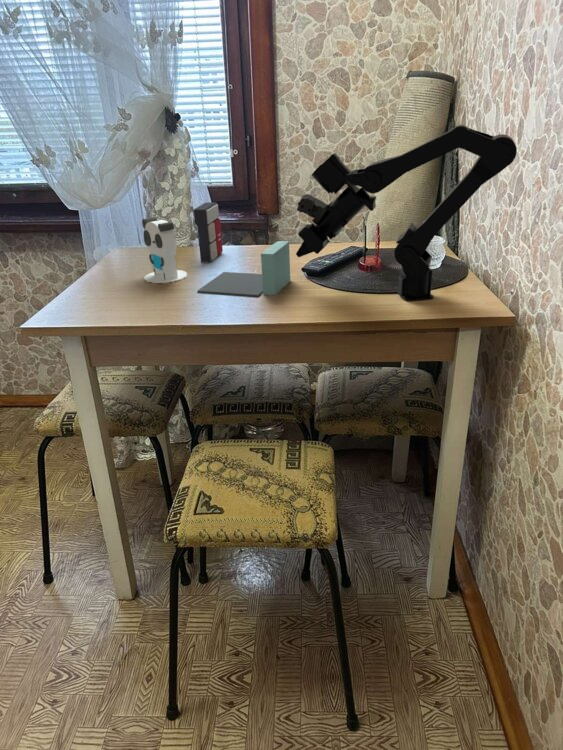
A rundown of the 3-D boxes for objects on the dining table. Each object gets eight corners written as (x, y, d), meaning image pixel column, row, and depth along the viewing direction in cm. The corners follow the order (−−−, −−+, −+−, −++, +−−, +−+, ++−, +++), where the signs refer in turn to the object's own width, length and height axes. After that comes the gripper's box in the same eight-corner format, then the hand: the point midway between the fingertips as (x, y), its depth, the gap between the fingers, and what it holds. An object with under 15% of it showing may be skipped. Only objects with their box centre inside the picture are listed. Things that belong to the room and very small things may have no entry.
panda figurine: (136, 276, 154) (127, 220, 147) (174, 267, 160) (167, 213, 153) (156, 286, 145) (147, 227, 139) (194, 277, 151) (188, 220, 145)
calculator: (213, 262, 163) (207, 209, 156) (198, 262, 164) (193, 209, 157) (224, 252, 173) (219, 202, 166) (210, 252, 174) (205, 202, 167)
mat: (280, 277, 148) (279, 275, 148) (258, 297, 135) (258, 294, 134) (223, 273, 153) (223, 271, 153) (197, 292, 139) (197, 290, 139)
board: (290, 280, 145) (289, 241, 141) (274, 295, 135) (272, 254, 131) (279, 279, 146) (277, 241, 142) (263, 294, 136) (260, 253, 132)
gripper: (329, 176, 134) (286, 222, 142) (306, 189, 118) (260, 240, 127) (361, 211, 135) (317, 254, 144) (343, 228, 120) (294, 276, 128)
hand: (297, 255), depth 135 cm, fingers closed
